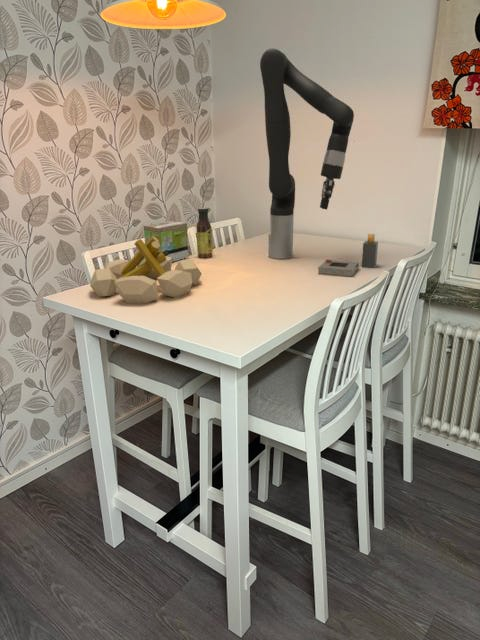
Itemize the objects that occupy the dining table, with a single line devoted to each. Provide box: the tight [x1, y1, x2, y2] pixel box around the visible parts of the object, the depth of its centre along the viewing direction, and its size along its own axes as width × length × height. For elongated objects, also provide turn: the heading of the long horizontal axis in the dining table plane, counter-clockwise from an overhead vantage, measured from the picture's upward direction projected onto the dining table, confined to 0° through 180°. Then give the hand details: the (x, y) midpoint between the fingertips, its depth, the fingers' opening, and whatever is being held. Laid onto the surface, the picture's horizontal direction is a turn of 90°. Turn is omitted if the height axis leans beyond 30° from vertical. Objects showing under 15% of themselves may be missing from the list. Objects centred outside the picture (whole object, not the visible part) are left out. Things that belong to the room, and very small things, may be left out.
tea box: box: [143, 220, 189, 263], centre depth 197 cm, size 15×10×15 cm
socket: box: [317, 258, 360, 278], centre depth 177 cm, size 12×12×3 cm
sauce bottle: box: [195, 207, 213, 259], centre depth 200 cm, size 6×6×20 cm
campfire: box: [89, 236, 202, 304], centre depth 161 cm, size 35×34×17 cm
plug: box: [361, 233, 379, 269], centre depth 182 cm, size 5×5×12 cm
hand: (323, 208), depth 185 cm, fingers open, 8 cm apart
